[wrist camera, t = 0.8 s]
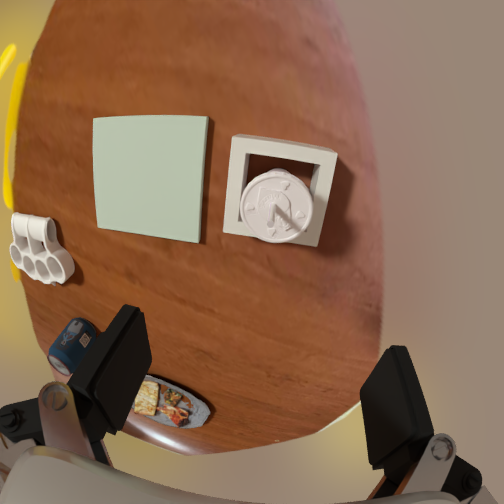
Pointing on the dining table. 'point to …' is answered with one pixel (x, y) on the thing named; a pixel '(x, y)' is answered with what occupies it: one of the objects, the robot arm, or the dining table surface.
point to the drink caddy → (288, 150)
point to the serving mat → (150, 174)
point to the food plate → (169, 405)
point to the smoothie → (276, 206)
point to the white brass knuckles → (39, 249)
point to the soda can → (71, 346)
